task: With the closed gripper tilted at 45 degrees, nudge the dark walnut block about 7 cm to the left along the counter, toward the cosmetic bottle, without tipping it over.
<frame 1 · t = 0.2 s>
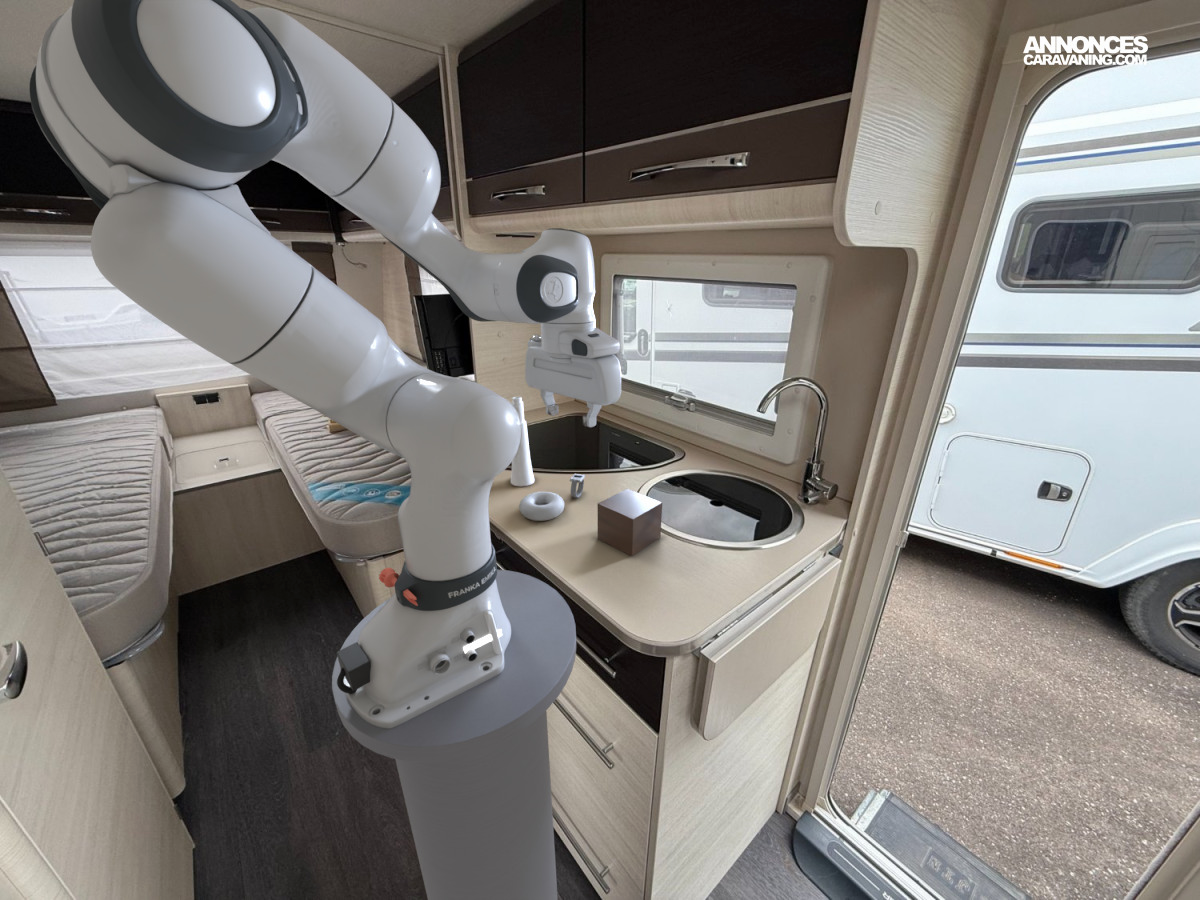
hand: (570, 420, 81), 26 cm above the worktop, tool pointing down, fingers open, 8 cm apart
walnut block: (629, 538, 94), on the worktop
donut: (542, 513, 104), on the worktop
wristwatch: (577, 496, 112), on the worktop
cosmetic bottle: (522, 482, 119), on the worktop
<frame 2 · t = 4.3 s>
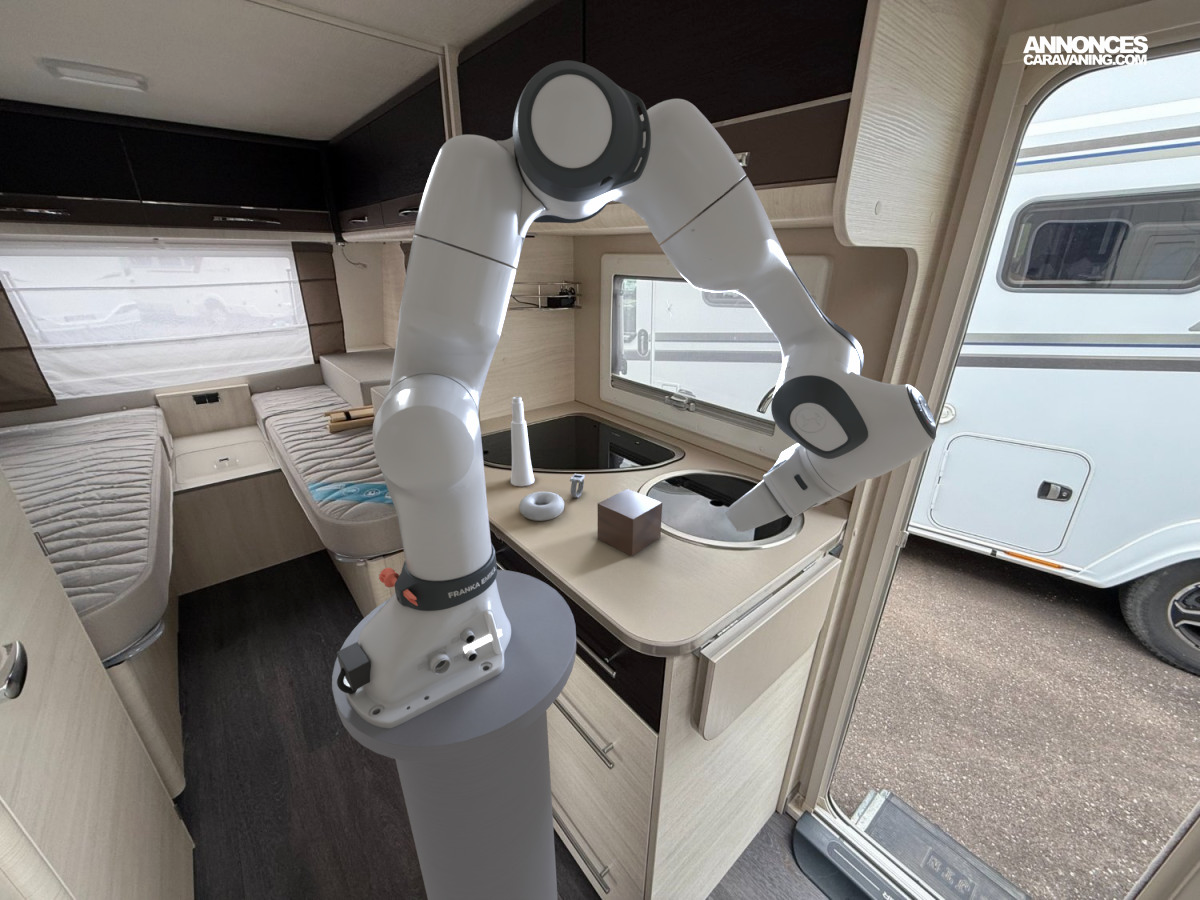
hand: (738, 511, 75), 14 cm above the worktop, tool tilted 45°, fingers closed
nothing on the worktop moved.
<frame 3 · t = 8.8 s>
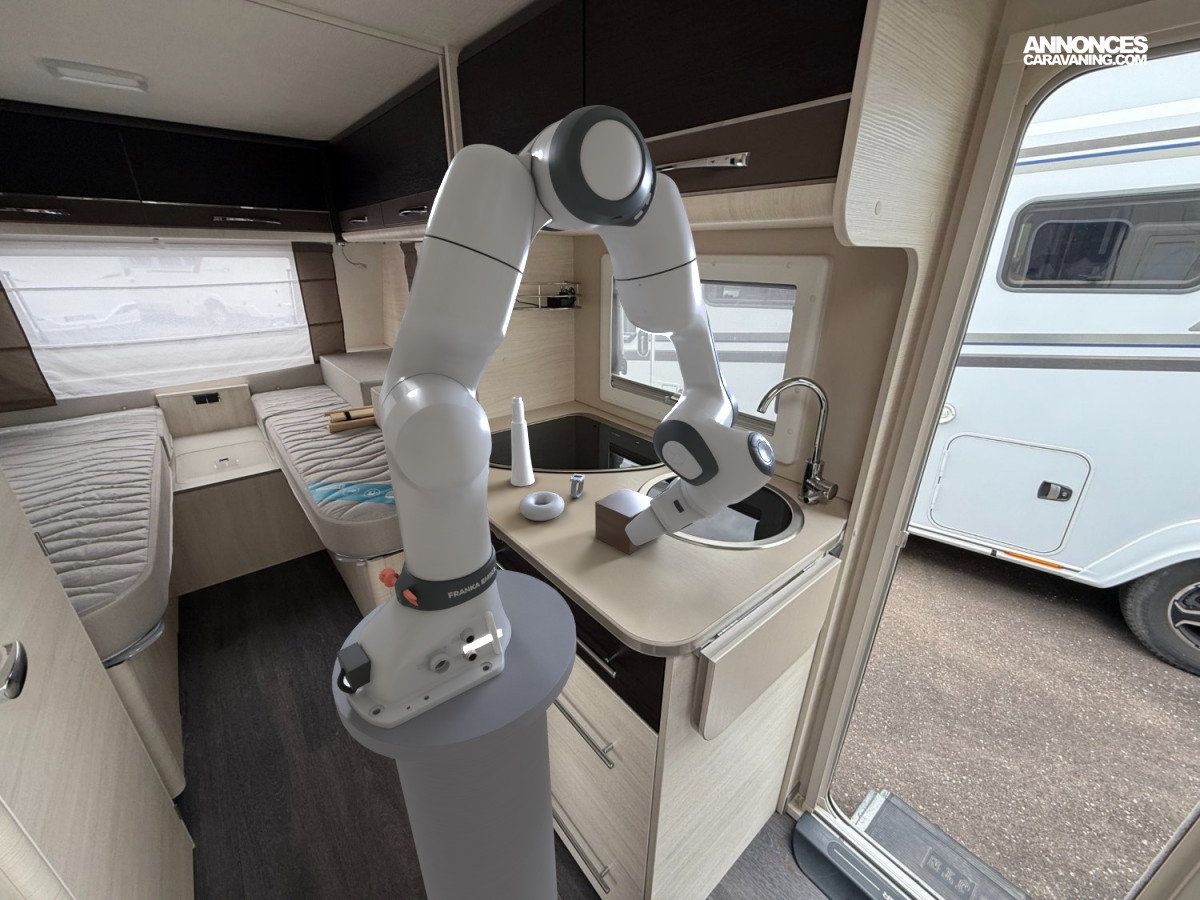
hand: (647, 527, 90), 4 cm above the worktop, tool tilted 45°, fingers closed, pressing on walnut block
walnut block: (626, 536, 95), on the worktop, touching gripper
everything else where it was.
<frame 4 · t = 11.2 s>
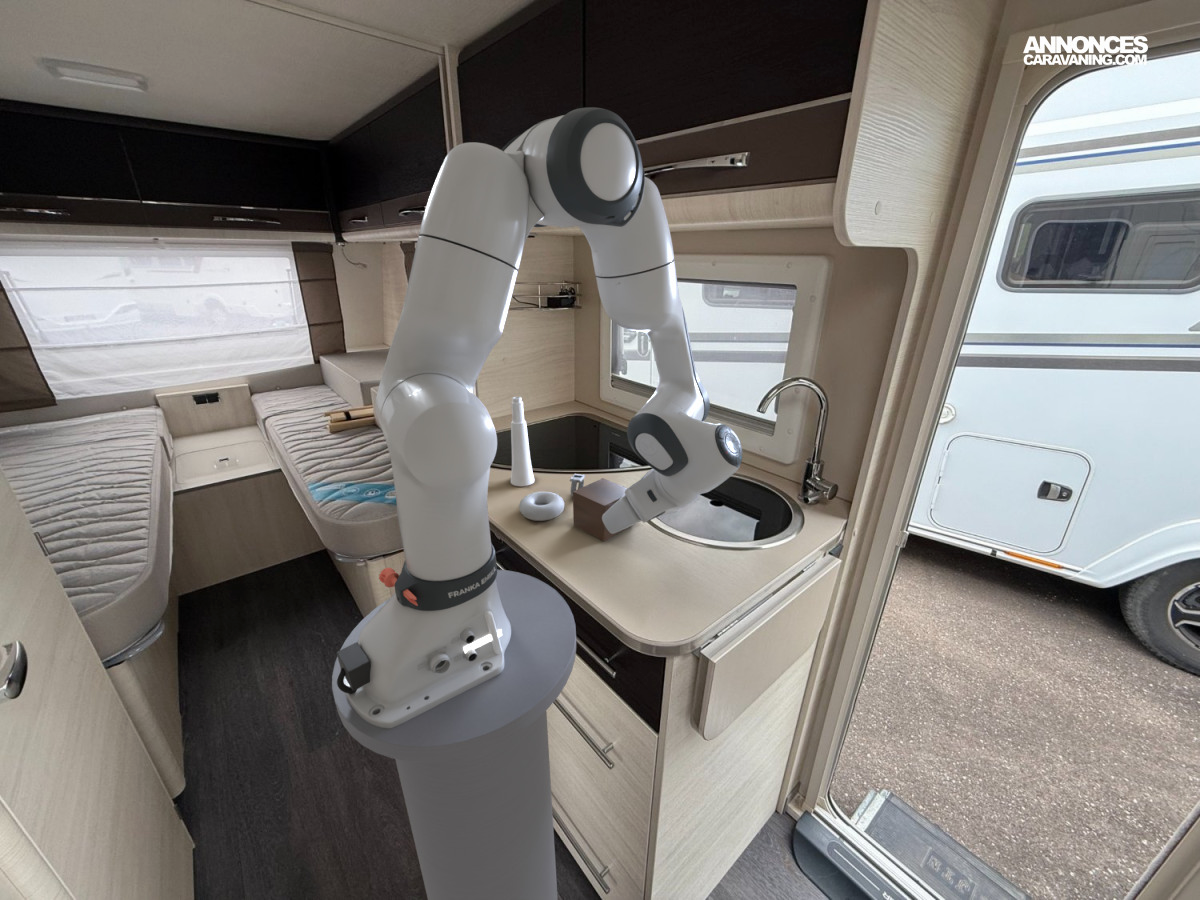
hand: (625, 517, 93), 4 cm above the worktop, tool tilted 45°, fingers closed
walnut block: (603, 525, 99), on the worktop
everything else where it was.
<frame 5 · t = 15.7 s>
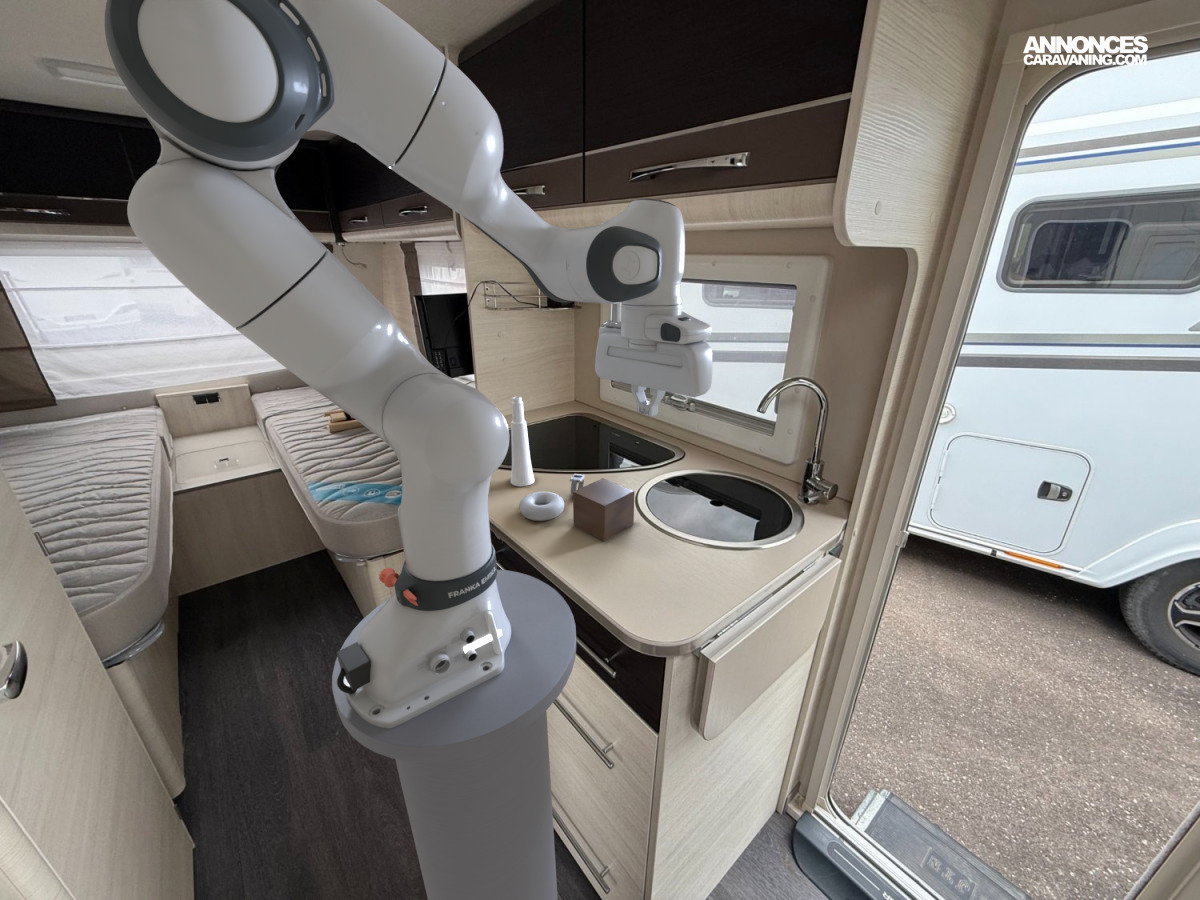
hand: (647, 413, 74), 29 cm above the worktop, tool pointing down, fingers closed
nothing on the worktop moved.
at the end: walnut block inside the target area (0.4 cm from its centre), on the worktop; walnut block tilted 0°; walnut block 29.8 cm from the cosmetic bottle (horizontally) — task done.
